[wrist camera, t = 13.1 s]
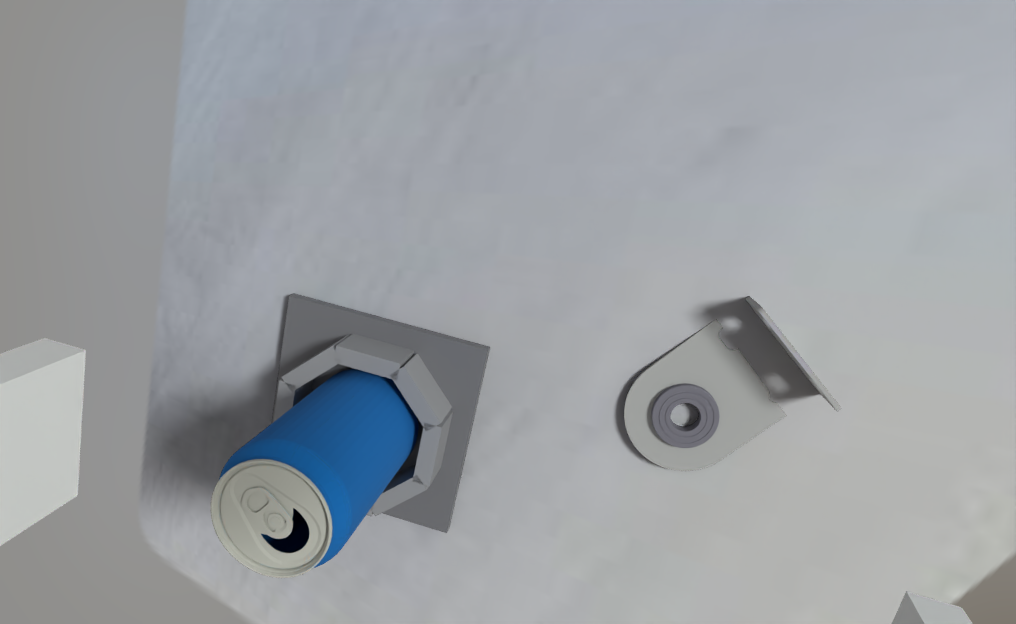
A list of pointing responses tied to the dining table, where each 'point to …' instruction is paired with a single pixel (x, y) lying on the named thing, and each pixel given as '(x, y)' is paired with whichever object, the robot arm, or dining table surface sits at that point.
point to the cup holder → (418, 375)
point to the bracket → (705, 400)
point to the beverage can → (313, 474)
